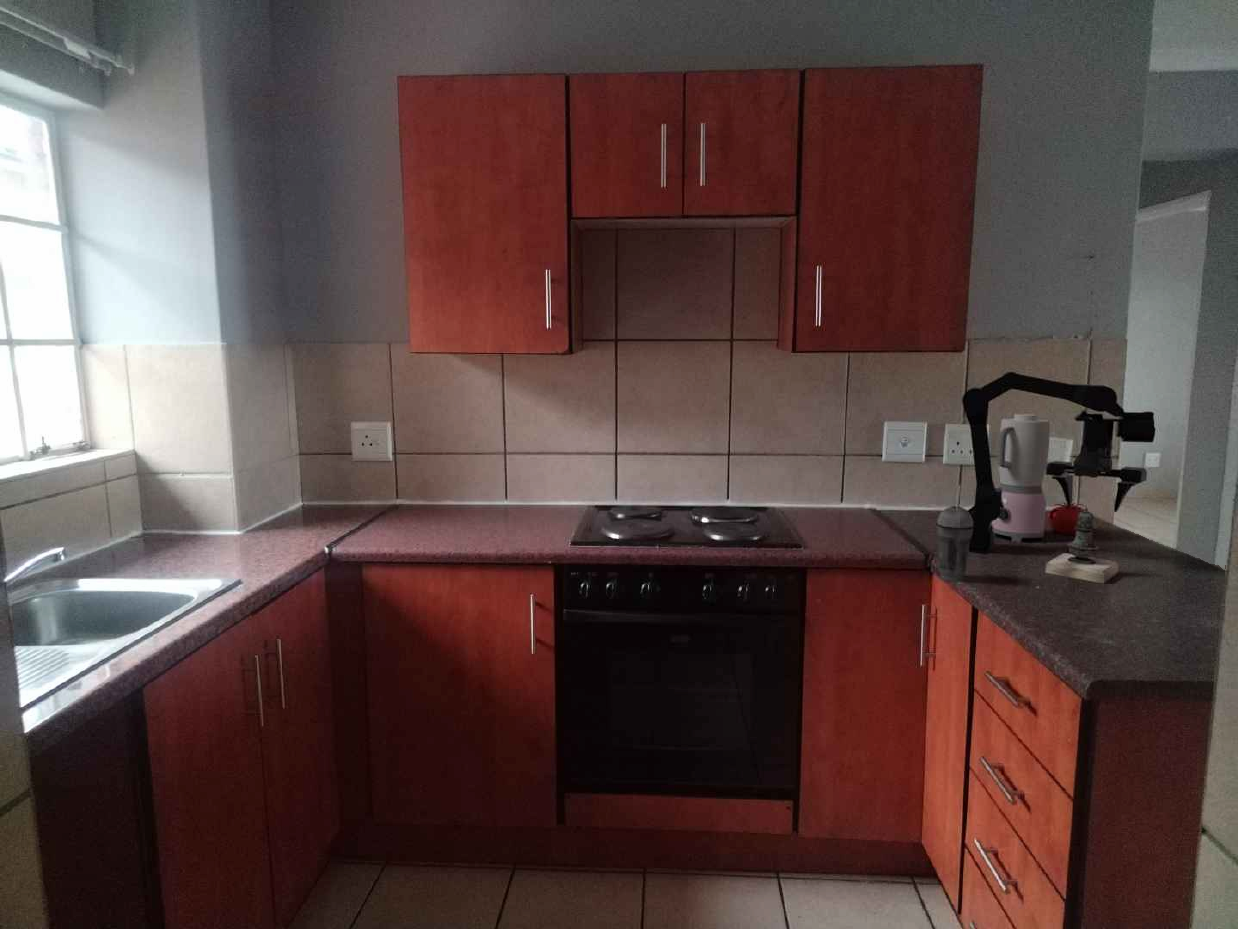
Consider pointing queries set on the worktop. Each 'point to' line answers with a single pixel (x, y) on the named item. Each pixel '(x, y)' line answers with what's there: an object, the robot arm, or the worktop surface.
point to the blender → (1022, 476)
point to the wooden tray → (1083, 569)
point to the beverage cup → (954, 540)
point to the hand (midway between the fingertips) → (1092, 508)
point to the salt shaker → (1083, 540)
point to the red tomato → (1064, 518)
